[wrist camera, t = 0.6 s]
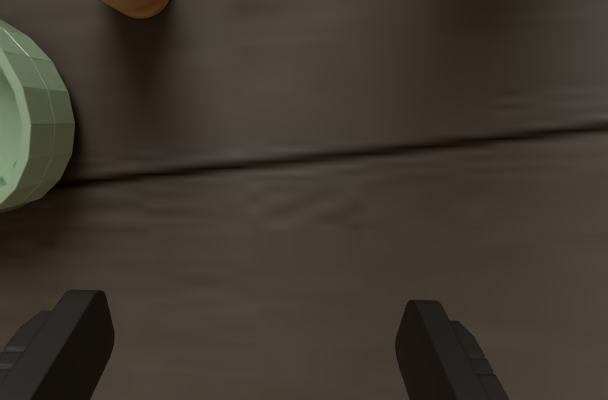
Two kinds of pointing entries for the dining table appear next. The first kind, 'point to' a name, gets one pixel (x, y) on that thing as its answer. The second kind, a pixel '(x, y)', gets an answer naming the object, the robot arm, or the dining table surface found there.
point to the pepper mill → (137, 7)
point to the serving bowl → (31, 121)
